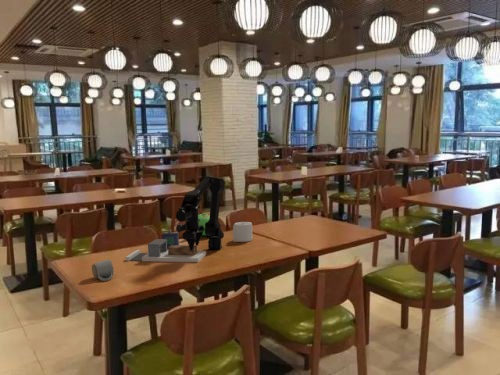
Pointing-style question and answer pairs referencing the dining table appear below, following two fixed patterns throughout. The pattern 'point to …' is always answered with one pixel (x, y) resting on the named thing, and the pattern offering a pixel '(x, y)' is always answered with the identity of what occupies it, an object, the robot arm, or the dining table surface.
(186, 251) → the walnut bar
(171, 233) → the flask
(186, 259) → the platform
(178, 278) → the dining table surface
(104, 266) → the ceramic mug
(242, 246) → the dining table surface
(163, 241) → the tunnel
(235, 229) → the toilet tissue
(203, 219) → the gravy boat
